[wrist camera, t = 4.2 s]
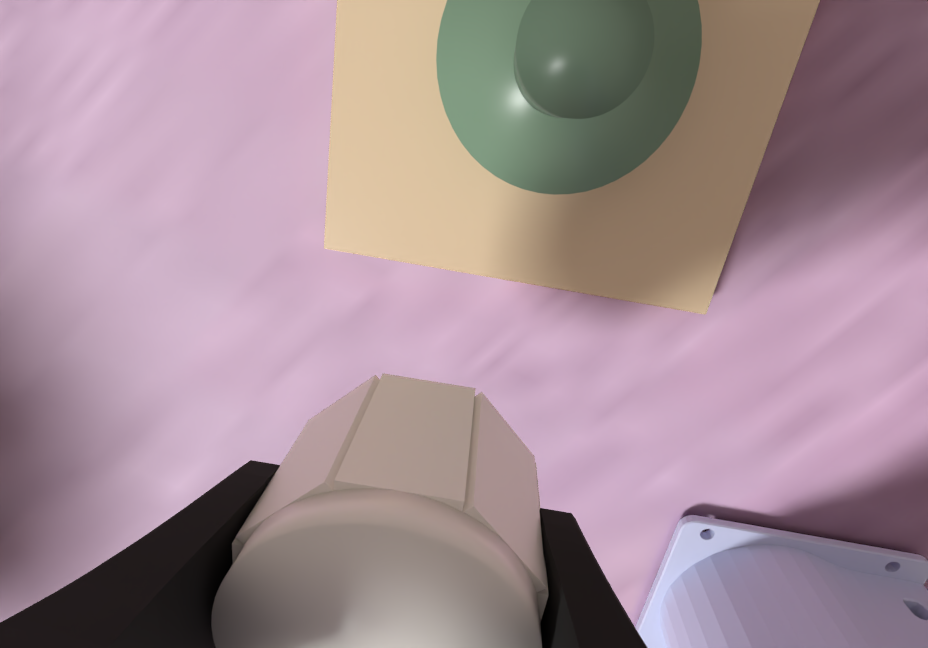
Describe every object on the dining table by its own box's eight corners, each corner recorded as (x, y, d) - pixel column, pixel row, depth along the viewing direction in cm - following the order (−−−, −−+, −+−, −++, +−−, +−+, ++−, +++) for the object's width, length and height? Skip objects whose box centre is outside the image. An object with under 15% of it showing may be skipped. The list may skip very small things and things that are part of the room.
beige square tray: (864, -168, 12) (1147, -389, 7) (696, 305, 17) (786, 396, 11) (361, -251, 12) (249, -532, 7) (331, 242, 17) (251, 302, 11)
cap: (550, 400, 10) (577, 557, 7) (507, 578, 12) (509, 776, 9) (307, 361, 11) (202, 496, 7) (301, 545, 12) (218, 728, 9)
